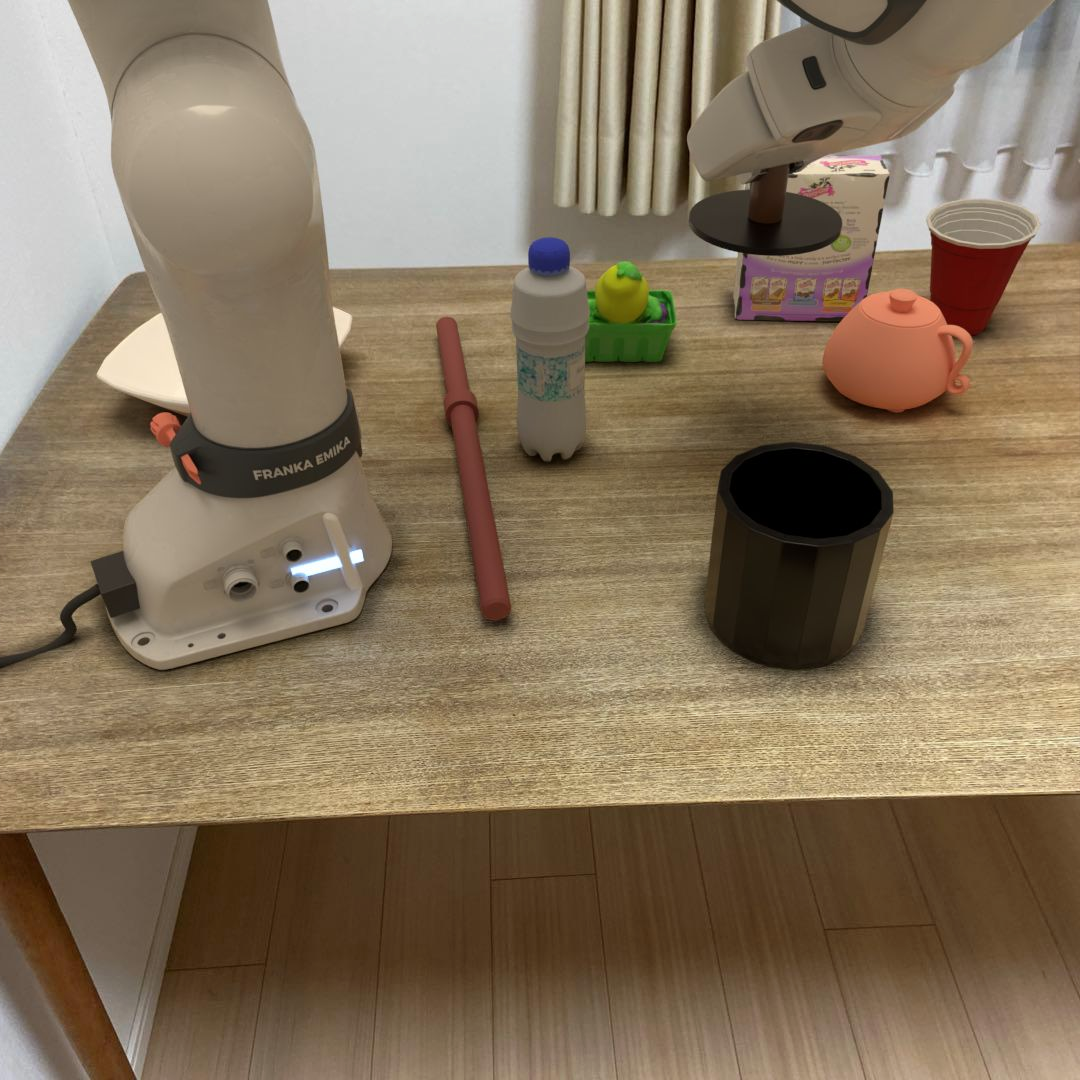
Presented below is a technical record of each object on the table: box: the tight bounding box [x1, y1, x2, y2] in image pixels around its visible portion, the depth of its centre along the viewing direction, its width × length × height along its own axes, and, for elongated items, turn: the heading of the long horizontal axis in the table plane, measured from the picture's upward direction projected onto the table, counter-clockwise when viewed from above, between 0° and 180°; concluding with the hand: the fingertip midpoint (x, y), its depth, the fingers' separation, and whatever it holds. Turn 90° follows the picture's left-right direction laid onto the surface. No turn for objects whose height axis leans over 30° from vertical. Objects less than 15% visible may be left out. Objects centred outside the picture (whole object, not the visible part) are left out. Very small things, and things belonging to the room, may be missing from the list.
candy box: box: [732, 154, 891, 322], centre depth 108 cm, size 14×6×16 cm, turn 84°
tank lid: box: [688, 163, 843, 256], centre depth 82 cm, size 12×12×9 cm
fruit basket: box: [585, 261, 678, 363], centre depth 103 cm, size 11×9×11 cm
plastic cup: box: [925, 197, 1042, 337], centre depth 106 cm, size 11×11×12 cm
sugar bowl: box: [821, 288, 974, 413], centre depth 97 cm, size 12×14×10 cm
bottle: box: [509, 236, 590, 462], centre depth 87 cm, size 7×7×20 cm
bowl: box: [96, 306, 353, 417], centre depth 101 cm, size 22×22×5 cm
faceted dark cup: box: [703, 441, 895, 670], centre depth 73 cm, size 12×12×12 cm
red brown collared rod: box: [435, 316, 512, 621], centre depth 92 cm, size 45×3×3 cm, turn 9°
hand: (765, 170), depth 82 cm, fingers closed on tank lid, 3 cm apart
